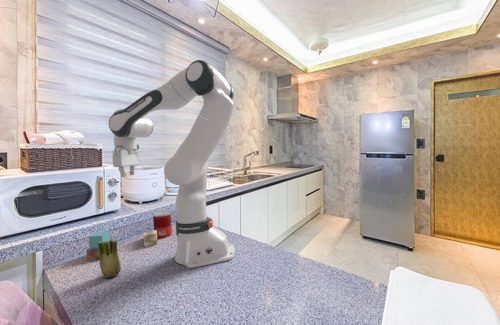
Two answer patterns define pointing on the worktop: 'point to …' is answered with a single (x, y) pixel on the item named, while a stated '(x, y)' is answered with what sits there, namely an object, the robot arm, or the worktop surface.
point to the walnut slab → (92, 253)
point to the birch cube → (150, 238)
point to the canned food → (162, 224)
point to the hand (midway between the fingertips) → (128, 175)
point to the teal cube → (98, 239)
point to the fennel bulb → (109, 258)
